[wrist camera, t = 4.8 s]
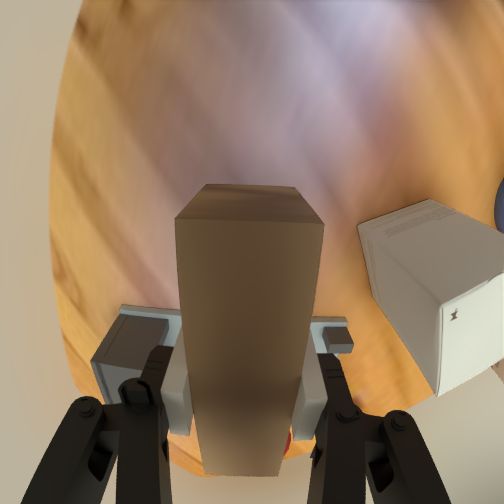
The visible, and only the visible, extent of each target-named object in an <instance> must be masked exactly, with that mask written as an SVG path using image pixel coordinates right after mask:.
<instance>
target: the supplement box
mask: <svg viewBox="0 0 504 504" xmlns="http://www.w3.org/2000/svg"><path fill="white" fill-rule="evenodd" d="M357 228H358V232H359V236H360V240H361V244H362V249H363V253H364V257H365V262H366V267H367V271H368V276H369V281H370V286H371V291H372V296H373V298H374V300H375V302H376V303H377V304H378V306H379V307H380V309H381V310H382V312H383V313H384V315H385V316H386V318H387V319H388V321H389V322H390V323H391V325H392V326H393V328H394V329H395V331H396V332H397V334H398V335H399V337H400V338H401V340H402V341H403V343H404V345H405V346H406V348H407V349H408V351H409V352H410V354H411V355H412V357H413V359H414V360H415V362H416V364H417V365H418V367H419V368H420V370H421V372H422V373H423V375H424V377H425V378H426V380H427V382H428V383H429V385H430V387H431V388H432V390H433V392H434V394H435V395H436V397H439V396H440V395H442V394H444V393H446V392H448V391H450V390H451V389H453V388H455V387H457V386H459V385H460V384H462V383H464V382H466V381H468V380H469V379H471V378H473V377H474V376H476V375H478V374H479V373H481V372H483V371H484V370H486V369H487V368H488V367H490V366H492V365H493V364H495V363H497V362H498V361H500V360H501V359H503V358H504V234H503V233H501V232H499V231H497V230H495V229H493V228H491V227H489V226H487V225H485V224H483V223H481V222H479V221H477V220H475V219H473V218H471V217H469V216H467V215H465V214H463V213H461V212H458V211H456V210H454V209H452V208H450V207H448V206H445V205H443V204H441V203H438V202H436V201H434V200H432V199H428V200H425V201H422V202H419V203H417V204H414V205H411V206H408V207H406V208H403V209H400V210H397V211H394V212H392V213H389V214H386V215H383V216H380V217H378V218H375V219H372V220H369V221H367V222H364V223H361V224H359V225H358V226H357Z"/></svg>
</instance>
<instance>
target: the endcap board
mask: <svg viewBox="0 0 504 504" xmlns="http://www.w3.org/2000/svg"><path fill="white" fill-rule="evenodd" d="M119 311H120V314H119V316H118V317H117V319H116V320H115V322H114V323H113V325H112V327H111V328H110V330H109V331H108V333H107V334H106V336H105V338H104V339H103V341H102V342H101V344H100V346H99V347H98V349H97V351H96V352H95V354H94V356H93V357H92V359H91V361H90V362H91V365H92V368H93V371H94V374H95V377H96V380H97V383H98V385H99V388H100V391H101V393H102V396H103V399H104V401H105V404H117V403H122V401H121V399H120V396H119V393H118V388H119V386H120V384H122V383H123V382H124V381H125V380H128V379H130V378H136V377H138V378H140V376H141V373H142V371H143V368H144V366H145V363H146V362H147V358H148V356H149V353H150V351H152V350H153V349H154V348H155V347H156V346H157V345H163V346H172V347H174V346H175V343H176V340H177V337H178V334H179V331H180V328H181V325H182V320H181V310H170V309H159V308H149V307H139V306H130V305H122V306H121V308H120V309H119ZM346 326H347V320H346V318H345V317H312V319H311V325H310V329H311V333H312V337H313V341H314V345H315V349H316V353H333V354H334V355H335V356H336V357H337V358H338V355H339V354H341V353H351V352H352V349H353V346H354V343H353V340H352V338H351V336H350V334H349V331H348V329H347V327H346Z"/></svg>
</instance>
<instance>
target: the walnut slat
mask: <svg viewBox="0 0 504 504" xmlns="http://www.w3.org/2000/svg"><path fill="white" fill-rule="evenodd" d="M323 232H324V223H323V222H322V220H321V219H320V218H319V217H318V215H317V214H316V213H315V211H314V210H313V209H312V208H311V207H310V205H309V204H308V203H307V202H306V200H305V199H304V198H303V197H302V195H301V194H300V193H299V192H298V191H297V189H296V188H295V187H284V186H263V185H233V184H206V185H205V186H204V187H203V188H202V189H201V190H200V192H199V193H198V194H197V195H196V196H195V197H194V198H193V199H192V200H191V201H190V202H189V203H188V205H187V206H186V207H185V208H184V209H183V210H182V211H181V212H180V213H179V214H178V216H177V217H176V218H175V239H176V257H177V273H178V286H179V298H180V309H181V320H182V330H183V339H184V348H185V356H186V364H187V371H188V377H189V386H190V393H191V400H192V406H193V413H194V419H195V425H196V430H197V436H198V442H199V447H200V452H201V457H202V463H203V467H204V472H205V474H211V475H226V476H257V477H260V476H262V477H263V476H278V474H279V470H280V467H281V463H282V459H283V455H284V451H285V447H286V443H287V439H288V435H289V430H290V426H291V419H292V415H293V411H294V407H295V403H296V399H297V394H298V389H299V385H300V380H301V375H302V369H303V364H304V359H305V353H306V348H307V342H308V337H309V331H310V325H311V319H312V313H313V306H314V300H315V293H316V286H317V279H318V272H319V265H320V257H321V249H322V241H323Z"/></svg>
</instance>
